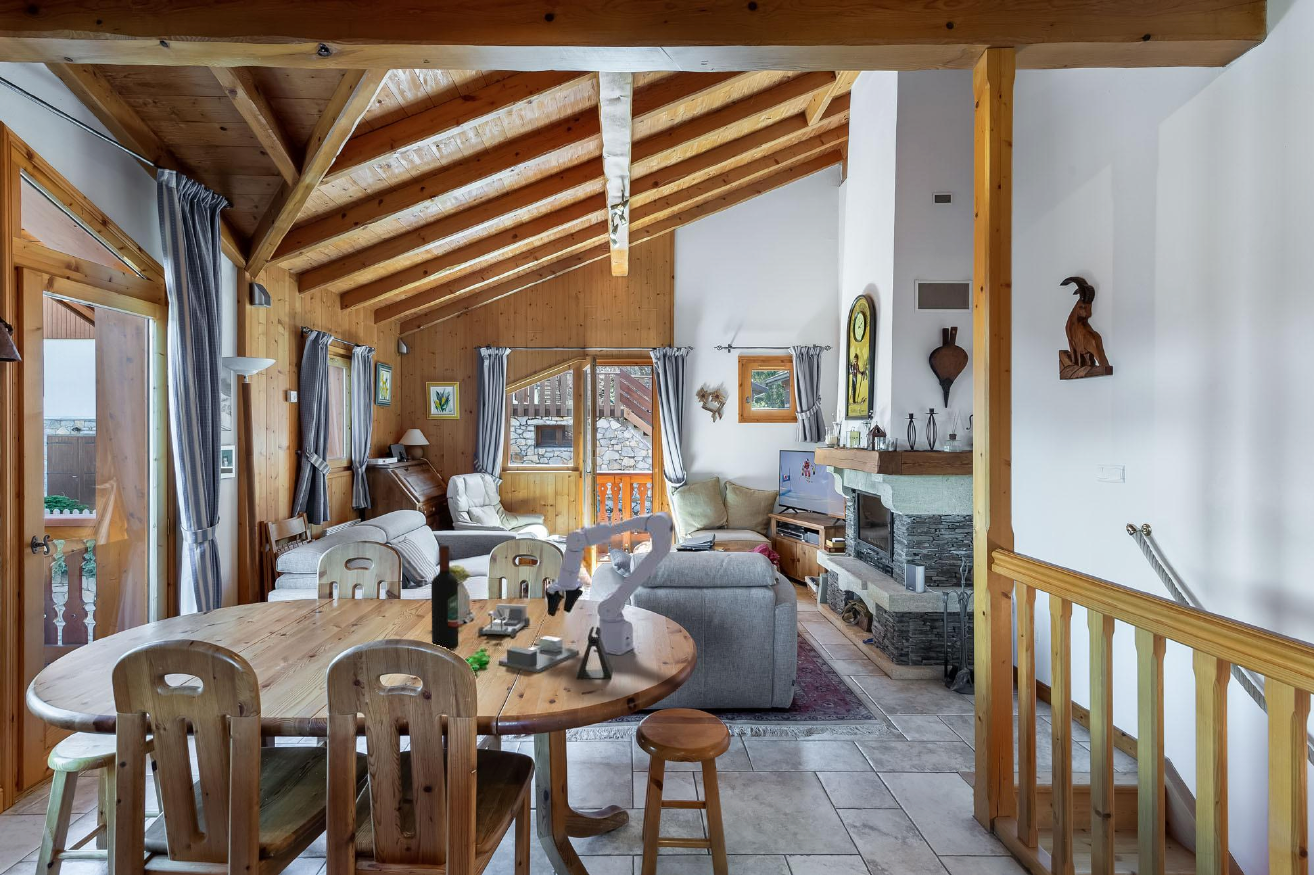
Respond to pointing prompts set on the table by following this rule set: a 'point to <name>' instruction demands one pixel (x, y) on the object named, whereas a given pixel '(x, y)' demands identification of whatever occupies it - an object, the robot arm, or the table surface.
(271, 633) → the table surface
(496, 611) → the toy car
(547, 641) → the plunger
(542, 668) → the gauge base
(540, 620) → the table surface
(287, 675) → the table surface
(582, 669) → the phone stand
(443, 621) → the wine bottle
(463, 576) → the yellow-capped mushroom figurine
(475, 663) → the crocodile figurine
